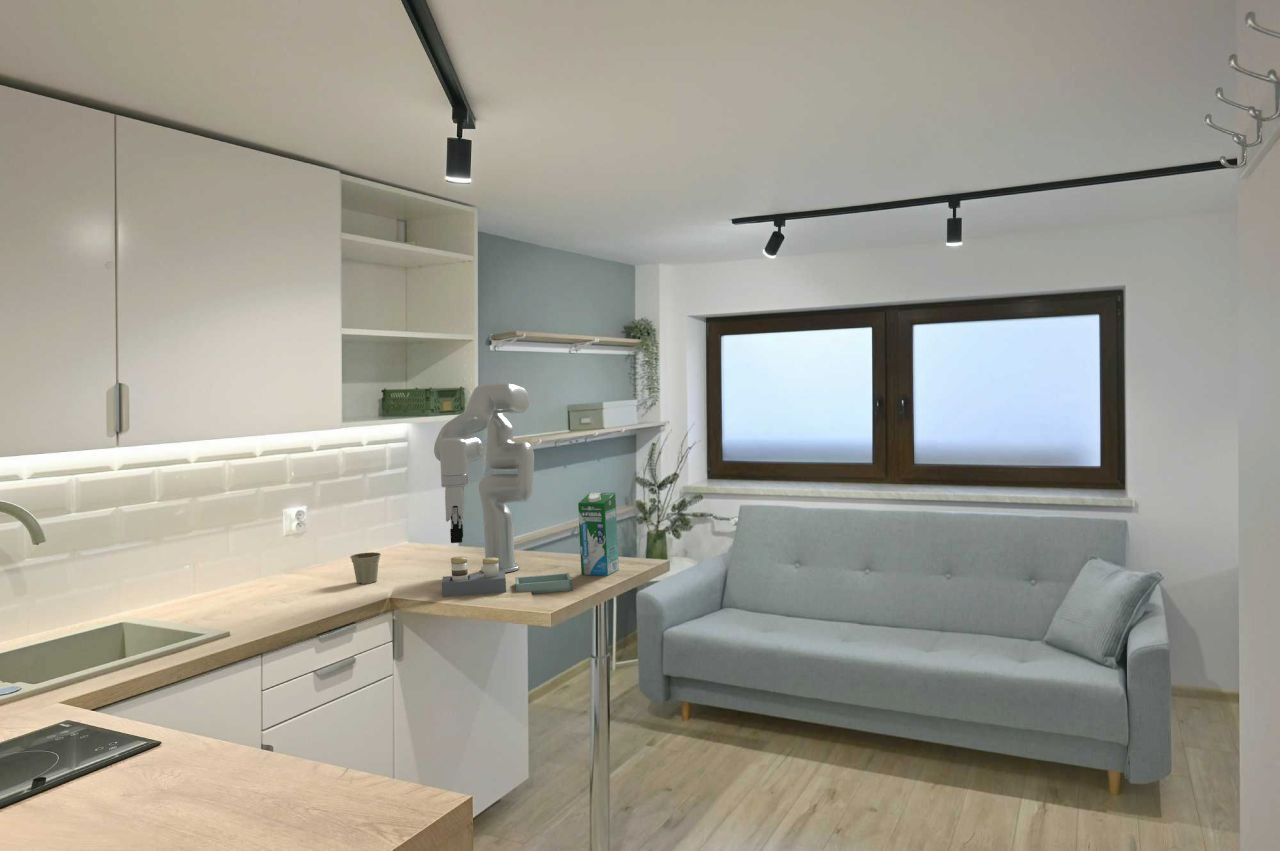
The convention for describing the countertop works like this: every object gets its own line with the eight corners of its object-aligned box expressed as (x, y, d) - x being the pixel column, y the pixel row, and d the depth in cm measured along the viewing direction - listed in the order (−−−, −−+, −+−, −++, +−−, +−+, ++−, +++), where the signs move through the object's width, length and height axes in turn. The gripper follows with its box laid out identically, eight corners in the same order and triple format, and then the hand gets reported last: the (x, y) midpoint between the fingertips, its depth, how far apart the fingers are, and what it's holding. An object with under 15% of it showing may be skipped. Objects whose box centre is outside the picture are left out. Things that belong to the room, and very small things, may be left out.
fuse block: (443, 593, 261) (442, 559, 260) (505, 588, 264) (504, 555, 263) (442, 600, 252) (440, 565, 252) (506, 595, 255) (504, 561, 255)
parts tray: (515, 587, 265) (515, 577, 265) (569, 583, 268) (568, 573, 268) (517, 594, 255) (516, 584, 255) (572, 590, 258) (571, 580, 258)
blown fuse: (452, 591, 259) (451, 557, 259) (468, 589, 260) (467, 556, 259) (452, 594, 255) (450, 560, 254) (468, 593, 255) (466, 558, 255)
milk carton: (581, 574, 279) (577, 495, 278) (593, 568, 287) (589, 492, 286) (607, 575, 275) (603, 495, 274) (618, 569, 284) (615, 492, 283)
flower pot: (388, 581, 282) (386, 554, 282) (361, 586, 275) (359, 559, 275) (372, 577, 288) (371, 551, 288) (345, 583, 281) (344, 556, 281)
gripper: (442, 479, 263) (445, 536, 264) (439, 484, 246) (442, 545, 247) (468, 478, 265) (470, 535, 265) (467, 482, 248) (469, 543, 248)
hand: (457, 540), depth 256 cm, fingers open, 9 cm apart
